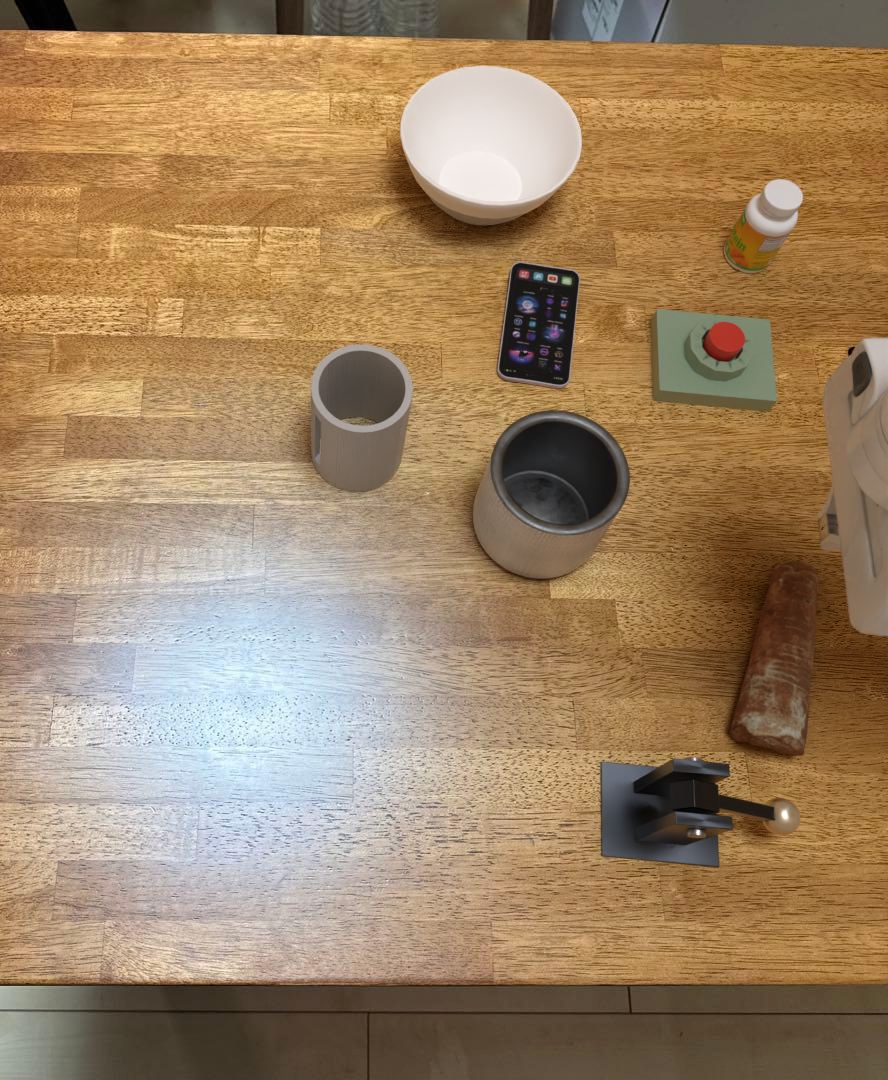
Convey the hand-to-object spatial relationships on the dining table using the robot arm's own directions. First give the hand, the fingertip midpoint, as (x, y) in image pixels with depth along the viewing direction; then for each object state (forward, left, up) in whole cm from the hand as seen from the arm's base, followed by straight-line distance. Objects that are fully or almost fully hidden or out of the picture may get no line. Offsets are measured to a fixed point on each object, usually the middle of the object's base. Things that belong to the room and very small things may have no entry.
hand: (828, 533), depth 79 cm
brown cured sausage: (-2, +4, -19) cm, 20 cm away
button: (+1, -27, -15) cm, 31 cm away
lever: (+5, +20, -12) cm, 24 cm away
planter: (+19, -7, -19) cm, 28 cm away
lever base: (+8, +20, -19) cm, 28 cm away
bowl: (+26, -48, -19) cm, 58 cm away
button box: (+1, -27, -19) cm, 33 cm away
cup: (+37, -13, -19) cm, 44 cm away
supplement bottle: (-4, -42, -19) cm, 47 cm away
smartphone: (+19, -30, -19) cm, 41 cm away
